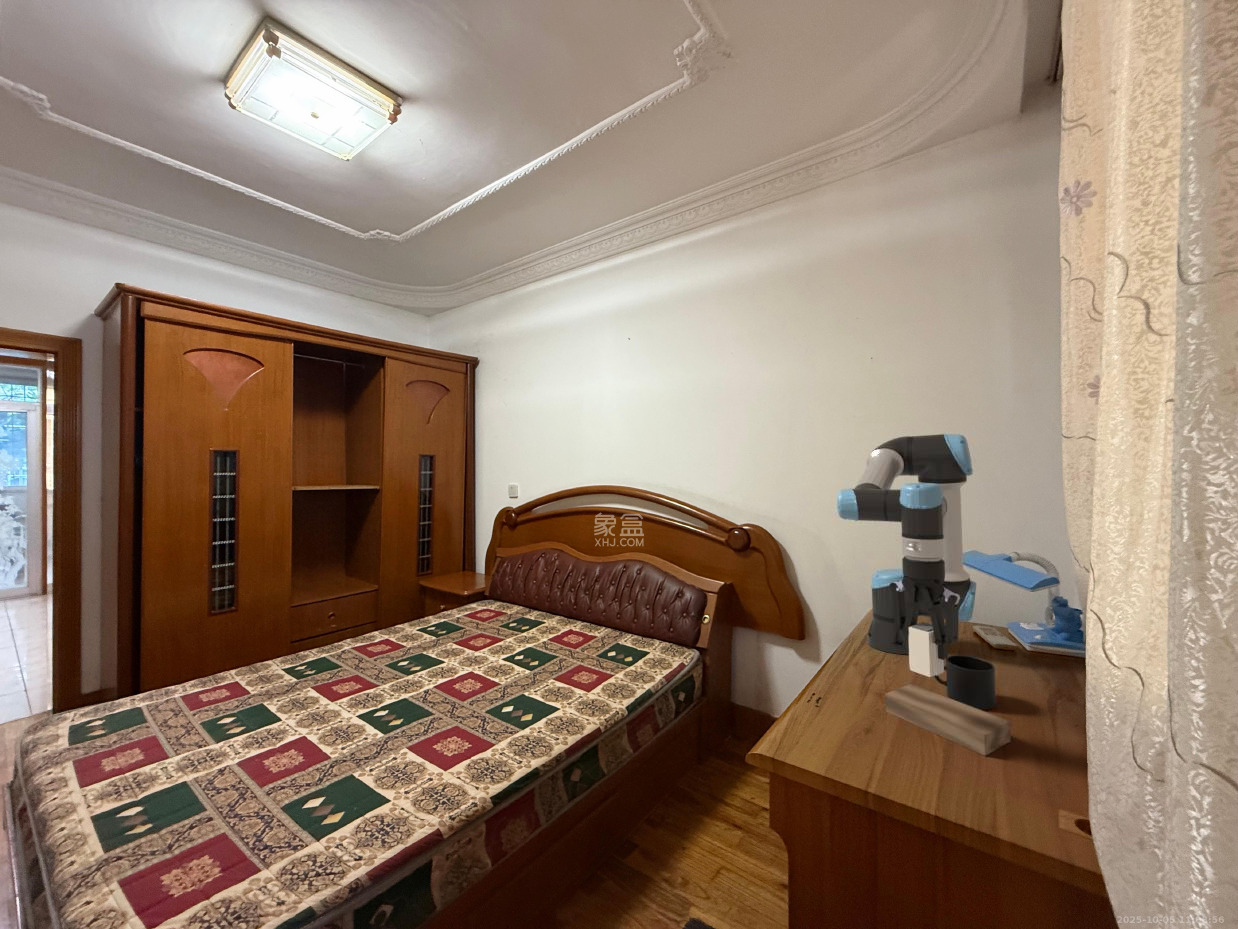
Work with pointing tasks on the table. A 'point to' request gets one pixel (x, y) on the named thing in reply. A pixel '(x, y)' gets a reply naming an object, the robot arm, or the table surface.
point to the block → (921, 648)
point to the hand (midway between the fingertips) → (926, 669)
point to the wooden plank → (949, 718)
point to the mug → (970, 681)
